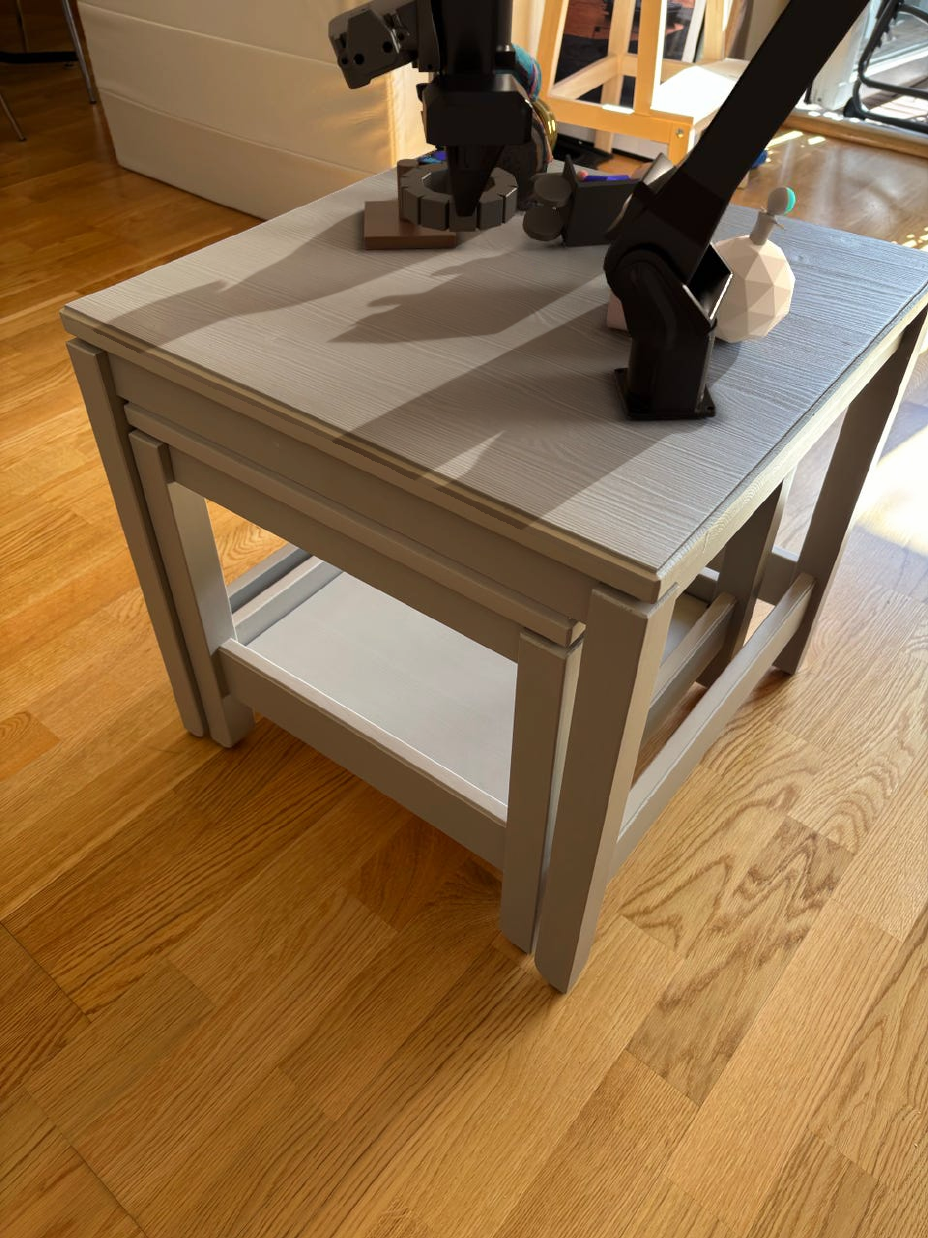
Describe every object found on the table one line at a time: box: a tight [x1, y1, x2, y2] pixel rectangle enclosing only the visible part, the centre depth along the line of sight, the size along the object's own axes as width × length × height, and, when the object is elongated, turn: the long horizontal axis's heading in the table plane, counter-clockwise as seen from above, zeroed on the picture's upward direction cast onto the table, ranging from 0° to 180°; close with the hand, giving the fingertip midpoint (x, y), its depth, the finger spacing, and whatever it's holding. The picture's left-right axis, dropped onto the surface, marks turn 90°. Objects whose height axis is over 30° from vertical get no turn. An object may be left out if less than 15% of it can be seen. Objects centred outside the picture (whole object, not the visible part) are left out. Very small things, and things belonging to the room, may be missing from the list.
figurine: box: [494, 41, 554, 212], centre depth 93 cm, size 10×7×15 cm
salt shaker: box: [531, 96, 558, 153], centre depth 103 cm, size 7×7×10 cm
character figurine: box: [521, 154, 653, 249], centre depth 89 cm, size 8×7×15 cm
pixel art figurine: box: [415, 146, 447, 166], centre depth 108 cm, size 6×1×12 cm
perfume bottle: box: [714, 185, 796, 344], centre depth 74 cm, size 8×8×12 cm
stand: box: [363, 158, 457, 250], centre depth 90 cm, size 8×8×6 cm
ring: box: [401, 162, 518, 233], centre depth 70 cm, size 8×8×2 cm
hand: (462, 210), depth 68 cm, fingers closed on ring, 2 cm apart
